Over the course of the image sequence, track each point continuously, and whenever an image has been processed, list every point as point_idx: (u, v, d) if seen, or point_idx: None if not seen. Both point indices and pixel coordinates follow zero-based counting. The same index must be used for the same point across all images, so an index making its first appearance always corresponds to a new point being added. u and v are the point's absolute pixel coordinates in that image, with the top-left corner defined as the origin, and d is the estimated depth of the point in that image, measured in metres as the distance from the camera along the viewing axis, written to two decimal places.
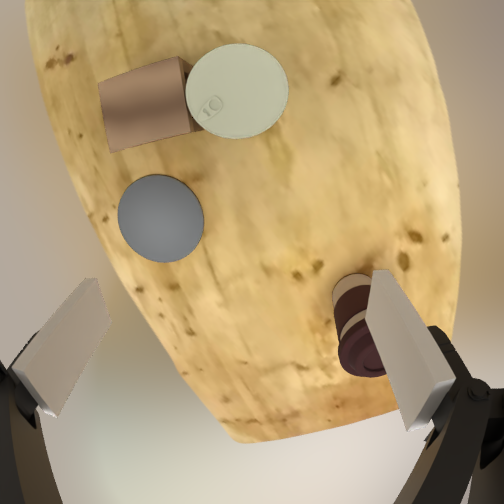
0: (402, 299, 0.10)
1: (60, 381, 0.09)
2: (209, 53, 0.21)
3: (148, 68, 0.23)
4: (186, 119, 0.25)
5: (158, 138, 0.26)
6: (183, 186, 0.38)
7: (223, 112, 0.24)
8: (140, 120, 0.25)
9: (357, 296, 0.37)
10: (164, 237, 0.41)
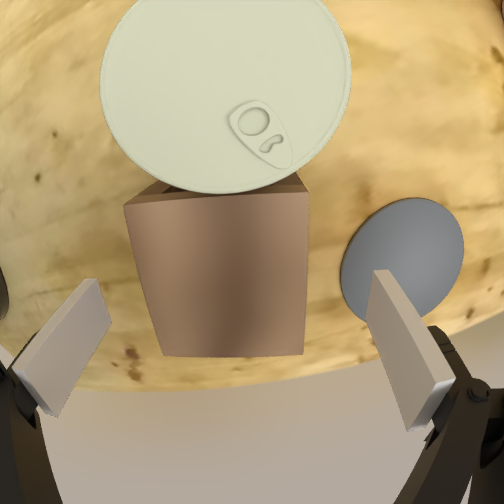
0: (402, 299, 0.10)
1: (60, 381, 0.09)
2: (115, 132, 0.09)
3: (143, 267, 0.13)
4: (276, 197, 0.12)
5: (304, 264, 0.13)
6: (373, 219, 0.22)
7: (278, 104, 0.09)
8: (254, 295, 0.14)
9: None
10: (432, 265, 0.23)
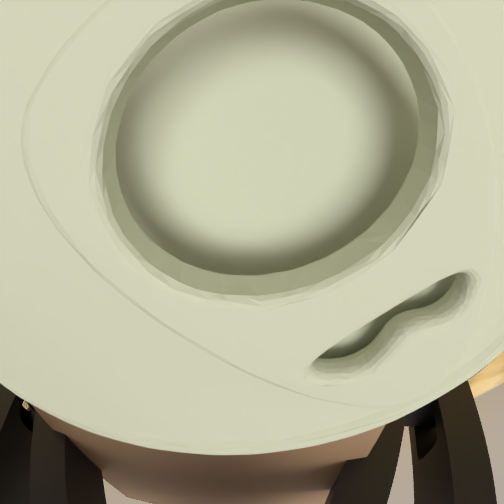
0: None
1: None
2: None
3: (58, 429, 0.05)
4: None
5: (361, 457, 0.05)
6: None
7: (446, 38, 0.01)
8: (259, 486, 0.06)
9: None
10: None
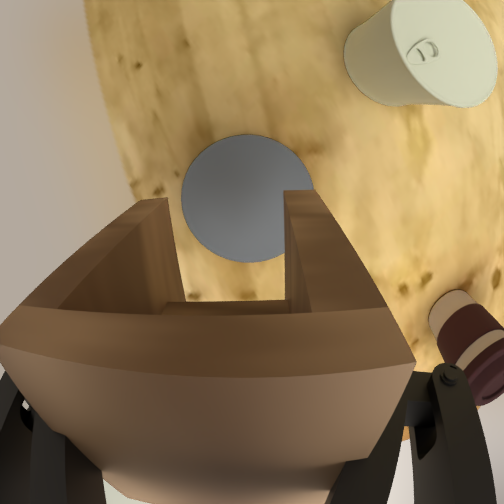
0: None
1: None
2: None
3: (58, 430, 0.05)
4: (327, 381, 0.04)
5: (361, 458, 0.05)
6: (295, 157, 0.26)
7: (436, 64, 0.12)
8: (259, 487, 0.06)
9: (473, 317, 0.26)
10: (252, 226, 0.29)
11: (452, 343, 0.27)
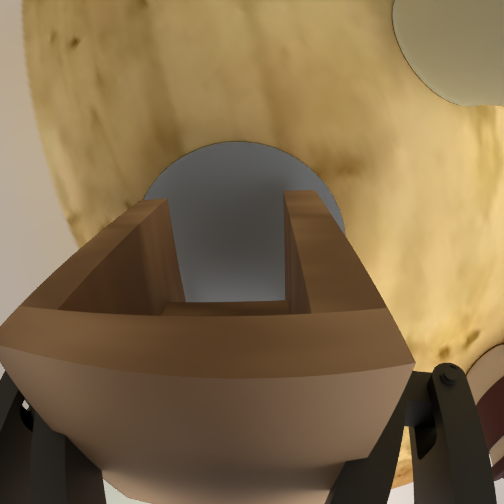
0: None
1: None
2: None
3: (59, 430, 0.05)
4: (326, 382, 0.04)
5: None
6: (319, 181, 0.16)
7: None
8: (259, 487, 0.06)
9: None
10: (246, 289, 0.19)
11: (495, 418, 0.16)
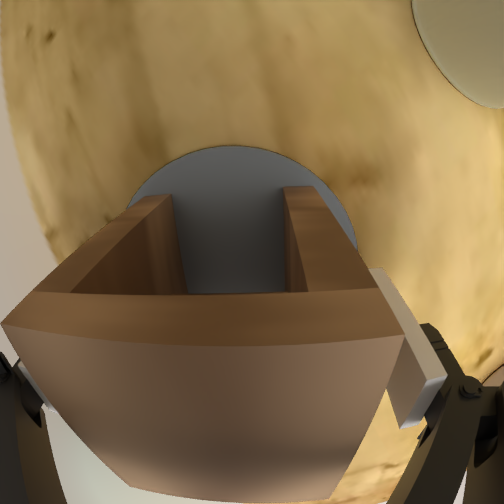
0: (395, 297, 0.10)
1: None
2: None
3: (65, 414, 0.06)
4: (323, 351, 0.04)
5: (358, 437, 0.05)
6: (329, 193, 0.13)
7: None
8: (261, 468, 0.06)
9: None
10: None
11: None
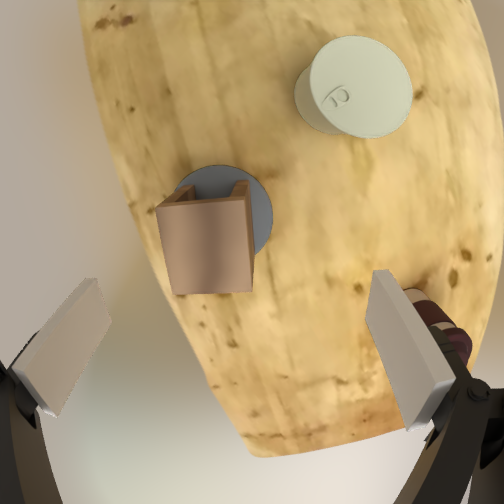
0: (402, 299, 0.10)
1: (60, 381, 0.09)
2: (339, 39, 0.18)
3: (164, 240, 0.27)
4: (228, 203, 0.25)
5: (245, 236, 0.26)
6: (256, 182, 0.34)
7: (349, 106, 0.20)
8: (221, 253, 0.27)
9: (422, 311, 0.34)
10: None
11: None
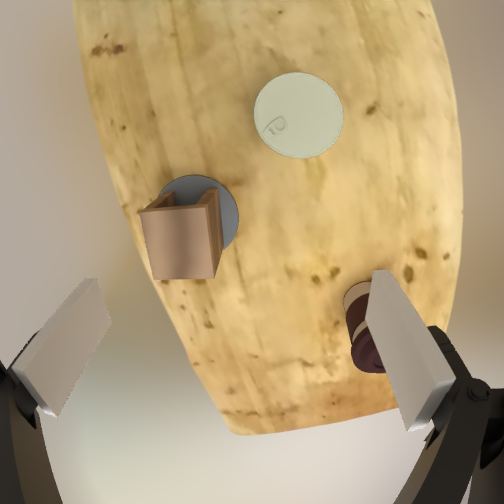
0: (402, 299, 0.10)
1: (60, 381, 0.09)
2: (279, 77, 0.25)
3: (147, 237, 0.34)
4: (193, 209, 0.32)
5: (207, 235, 0.34)
6: (224, 189, 0.41)
7: (285, 133, 0.28)
8: (189, 248, 0.34)
9: None
10: None
11: (351, 321, 0.42)
